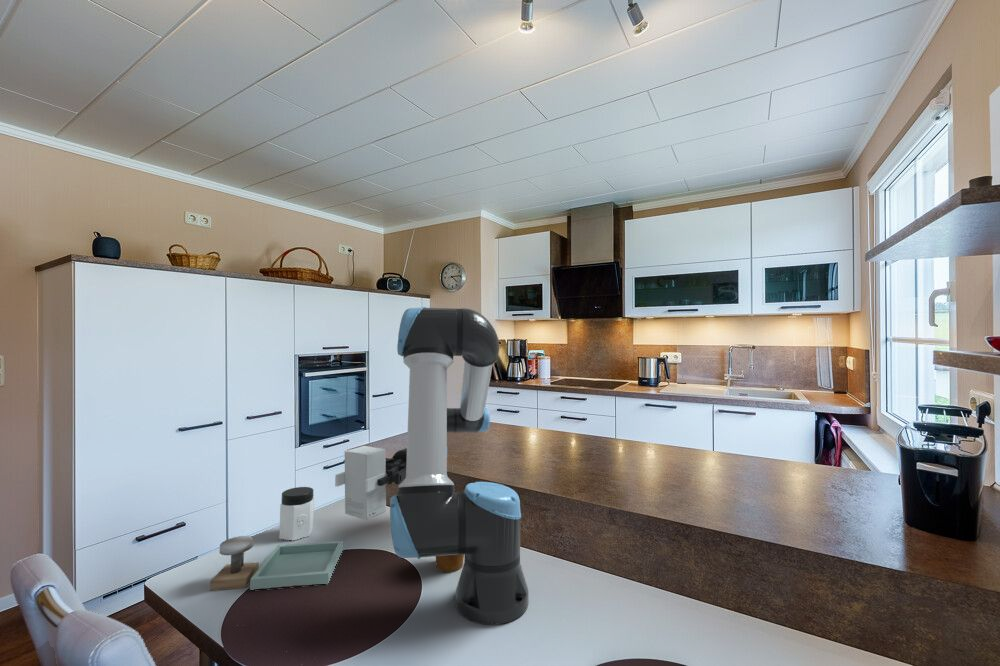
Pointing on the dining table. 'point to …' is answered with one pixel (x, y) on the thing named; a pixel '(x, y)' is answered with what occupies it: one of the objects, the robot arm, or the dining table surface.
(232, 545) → the mushroom shaped stand
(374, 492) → the skincare box
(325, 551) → the tray
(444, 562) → the disposable coffee cup
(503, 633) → the dining table surface
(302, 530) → the jar
